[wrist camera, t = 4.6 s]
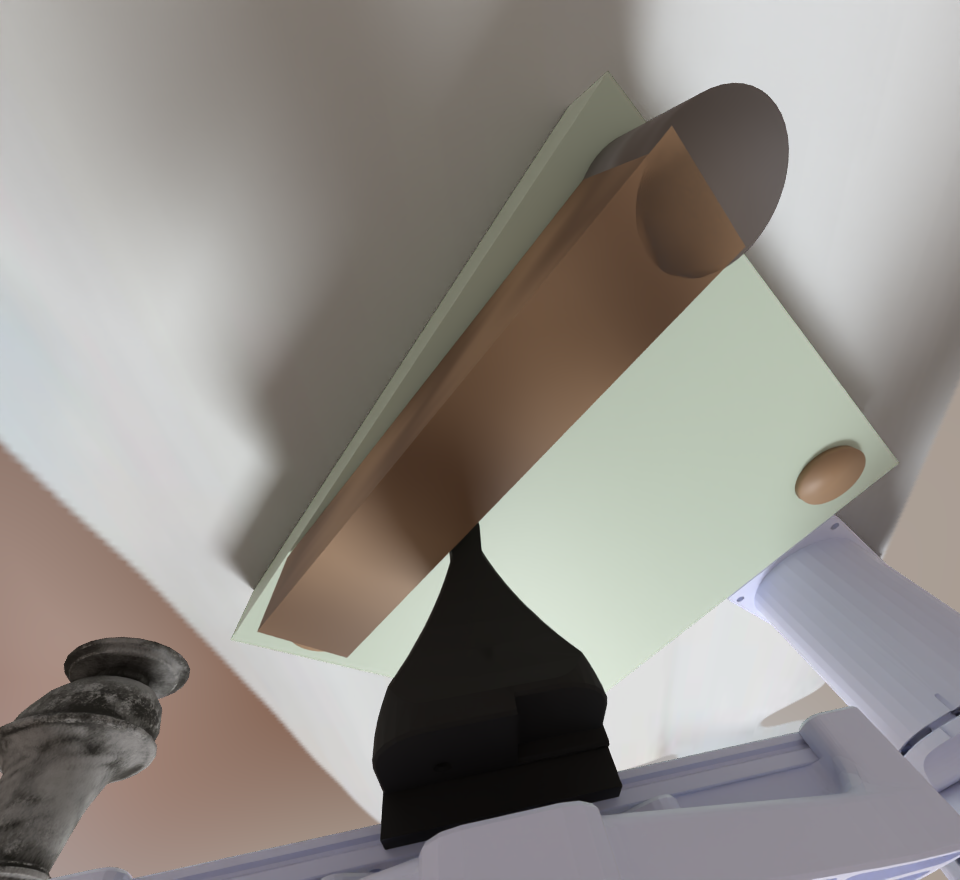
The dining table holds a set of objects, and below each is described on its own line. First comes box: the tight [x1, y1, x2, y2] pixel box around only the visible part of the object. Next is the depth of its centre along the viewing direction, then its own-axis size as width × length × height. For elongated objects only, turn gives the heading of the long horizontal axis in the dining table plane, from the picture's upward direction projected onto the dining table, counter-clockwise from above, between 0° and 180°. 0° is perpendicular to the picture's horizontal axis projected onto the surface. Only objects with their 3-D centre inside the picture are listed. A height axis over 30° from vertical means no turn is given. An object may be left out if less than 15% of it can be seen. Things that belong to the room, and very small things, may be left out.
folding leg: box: [257, 83, 789, 658], centre depth 10 cm, size 18×3×3 cm, turn 139°
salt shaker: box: [0, 637, 190, 880], centre depth 13 cm, size 6×6×12 cm
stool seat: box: [231, 71, 899, 693], centre depth 17 cm, size 21×23×3 cm
